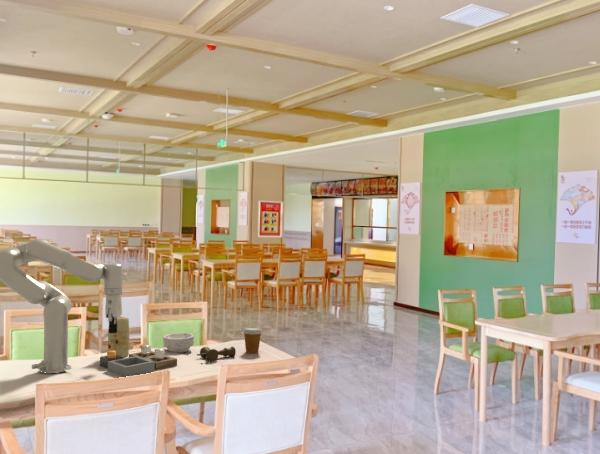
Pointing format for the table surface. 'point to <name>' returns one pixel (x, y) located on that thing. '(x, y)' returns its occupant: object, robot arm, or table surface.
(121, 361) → the tray
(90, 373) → the table surface
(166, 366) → the brown compartment tray
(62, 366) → the robot arm
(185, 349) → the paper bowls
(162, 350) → the cylinder
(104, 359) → the button housing
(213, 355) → the kendama
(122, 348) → the food model
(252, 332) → the disposable coffee cup
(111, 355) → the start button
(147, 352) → the cylinder
